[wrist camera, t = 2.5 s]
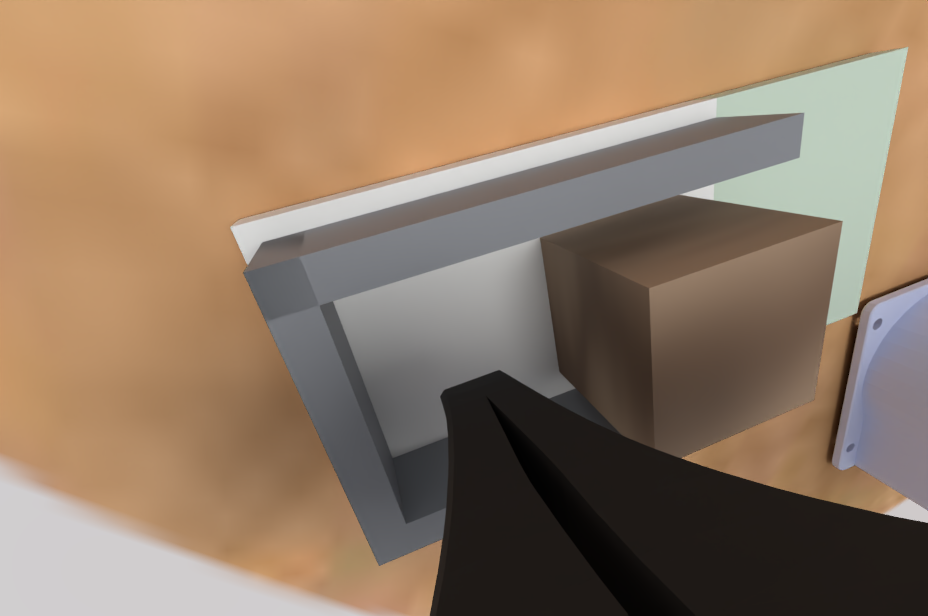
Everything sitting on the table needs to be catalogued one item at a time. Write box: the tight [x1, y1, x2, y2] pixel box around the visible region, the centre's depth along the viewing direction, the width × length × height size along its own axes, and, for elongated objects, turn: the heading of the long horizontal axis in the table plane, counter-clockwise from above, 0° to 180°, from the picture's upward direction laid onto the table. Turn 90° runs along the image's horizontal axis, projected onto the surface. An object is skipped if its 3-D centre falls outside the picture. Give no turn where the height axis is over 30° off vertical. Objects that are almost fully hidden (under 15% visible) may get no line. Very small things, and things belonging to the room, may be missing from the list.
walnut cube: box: [540, 195, 843, 458], centre depth 11 cm, size 4×4×4 cm
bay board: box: [230, 47, 908, 566], centre depth 13 cm, size 9×20×4 cm, turn 103°
